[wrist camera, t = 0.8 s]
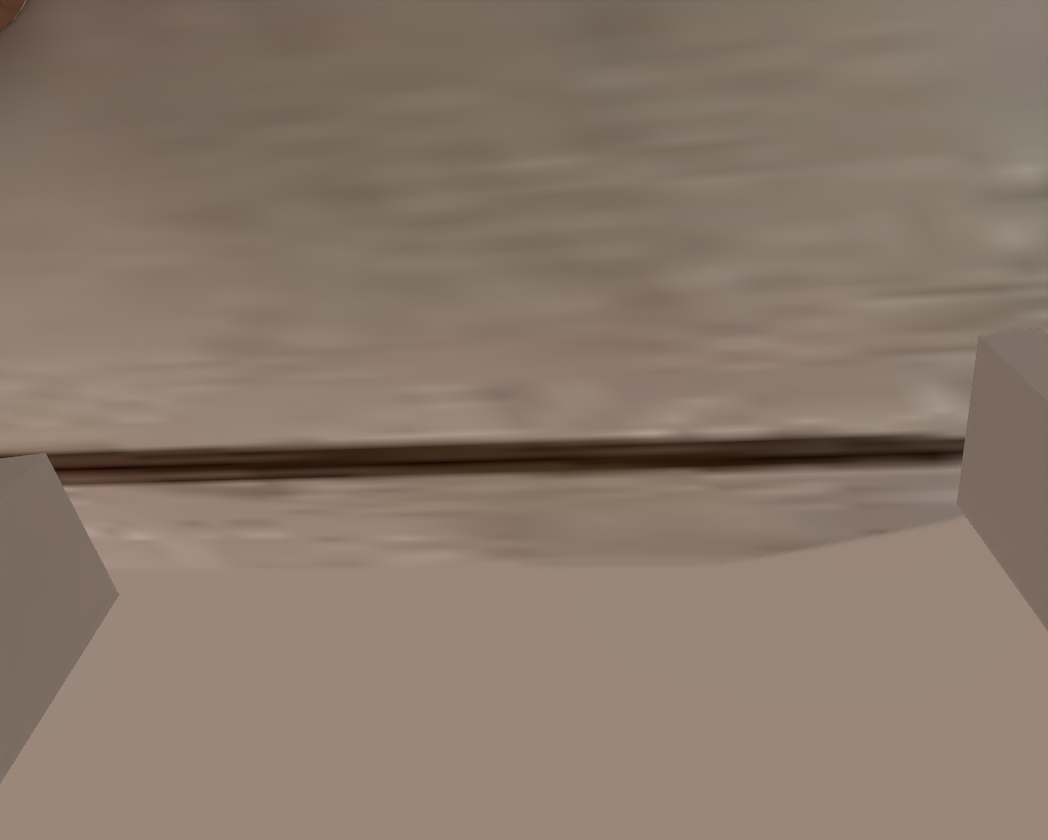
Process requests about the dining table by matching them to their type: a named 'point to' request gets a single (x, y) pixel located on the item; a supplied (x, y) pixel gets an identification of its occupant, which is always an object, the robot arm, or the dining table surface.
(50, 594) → the robot arm
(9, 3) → the coffee cup
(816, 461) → the dining table surface
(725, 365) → the dining table surface
